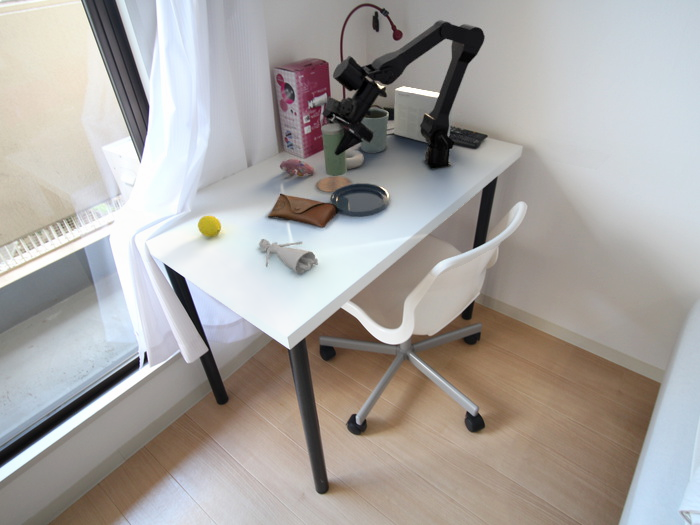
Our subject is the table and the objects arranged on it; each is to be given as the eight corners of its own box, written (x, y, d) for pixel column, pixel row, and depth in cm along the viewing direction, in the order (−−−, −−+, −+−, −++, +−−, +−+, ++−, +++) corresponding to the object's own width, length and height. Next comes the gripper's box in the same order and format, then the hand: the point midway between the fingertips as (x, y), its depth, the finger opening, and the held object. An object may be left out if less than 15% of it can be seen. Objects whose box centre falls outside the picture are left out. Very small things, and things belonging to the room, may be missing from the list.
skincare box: (450, 142, 150) (454, 95, 140) (441, 147, 147) (445, 99, 137) (402, 129, 162) (403, 85, 152) (393, 134, 159) (393, 89, 149)
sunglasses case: (265, 216, 116) (268, 191, 115) (279, 216, 122) (282, 193, 121) (324, 228, 110) (328, 202, 108) (336, 228, 116) (339, 203, 115)
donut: (362, 170, 136) (365, 157, 144) (362, 160, 134) (364, 147, 142) (331, 171, 137) (335, 157, 145) (330, 161, 135) (334, 147, 143)
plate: (380, 186, 127) (380, 179, 126) (395, 212, 115) (395, 206, 113) (327, 193, 125) (326, 187, 124) (336, 222, 113) (335, 215, 111)
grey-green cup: (357, 143, 154) (356, 109, 146) (385, 140, 154) (385, 107, 147) (361, 155, 145) (360, 119, 138) (391, 152, 146) (391, 116, 139)
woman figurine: (292, 270, 90) (240, 246, 100) (296, 287, 92) (244, 262, 103) (330, 244, 97) (277, 224, 107) (332, 261, 99) (280, 239, 110)
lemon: (196, 235, 112) (190, 217, 108) (214, 226, 115) (208, 208, 111) (211, 244, 108) (205, 226, 104) (229, 235, 111) (224, 217, 107)
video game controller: (283, 178, 138) (275, 164, 132) (288, 167, 140) (281, 152, 134) (311, 182, 135) (304, 168, 129) (316, 170, 137) (309, 156, 130)
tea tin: (344, 165, 127) (341, 121, 119) (349, 174, 122) (346, 129, 114) (324, 168, 126) (319, 124, 118) (327, 177, 121) (323, 132, 114)
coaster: (347, 176, 134) (346, 174, 133) (353, 190, 126) (353, 188, 125) (315, 180, 132) (314, 178, 132) (319, 195, 125) (319, 193, 124)
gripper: (325, 77, 118) (294, 126, 121) (362, 92, 105) (326, 146, 108) (351, 100, 126) (321, 146, 128) (388, 116, 113) (355, 167, 115)
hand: (330, 150), depth 120 cm, fingers closed on tea tin, 6 cm apart
